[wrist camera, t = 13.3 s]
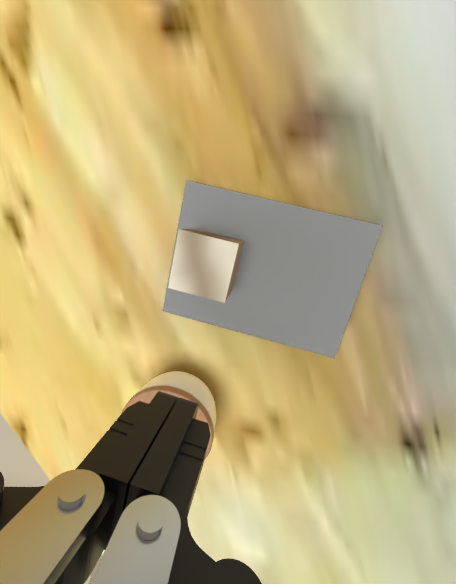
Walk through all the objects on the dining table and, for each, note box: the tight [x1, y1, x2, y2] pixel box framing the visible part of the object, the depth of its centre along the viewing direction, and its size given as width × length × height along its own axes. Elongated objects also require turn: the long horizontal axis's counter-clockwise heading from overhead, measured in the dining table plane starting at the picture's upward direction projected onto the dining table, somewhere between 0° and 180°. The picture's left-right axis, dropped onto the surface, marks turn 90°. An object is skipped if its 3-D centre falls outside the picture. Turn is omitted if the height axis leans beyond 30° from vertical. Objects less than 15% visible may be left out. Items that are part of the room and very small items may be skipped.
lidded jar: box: [122, 371, 216, 460], centre depth 34 cm, size 11×11×9 cm
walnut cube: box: [168, 229, 244, 303], centre depth 31 cm, size 6×6×6 cm
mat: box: [163, 180, 383, 358], centre depth 33 cm, size 22×16×1 cm
